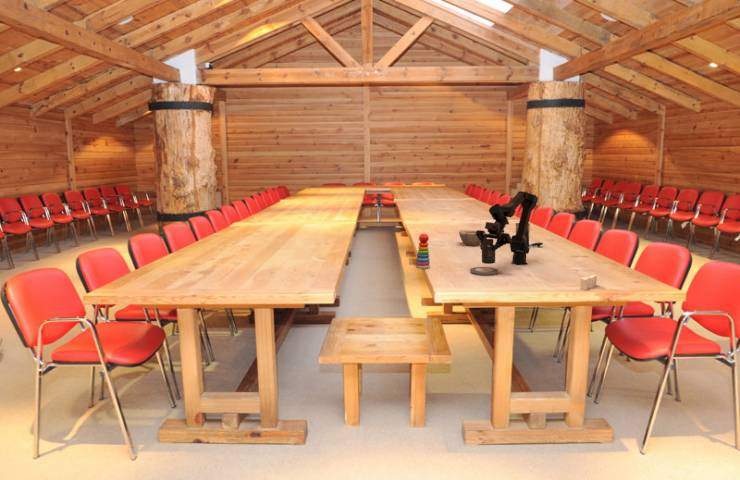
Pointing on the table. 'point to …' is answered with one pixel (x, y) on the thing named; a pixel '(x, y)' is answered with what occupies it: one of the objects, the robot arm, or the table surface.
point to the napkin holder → (588, 282)
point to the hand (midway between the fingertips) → (486, 250)
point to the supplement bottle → (488, 252)
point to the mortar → (469, 238)
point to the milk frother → (528, 236)
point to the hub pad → (484, 271)
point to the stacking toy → (423, 253)
